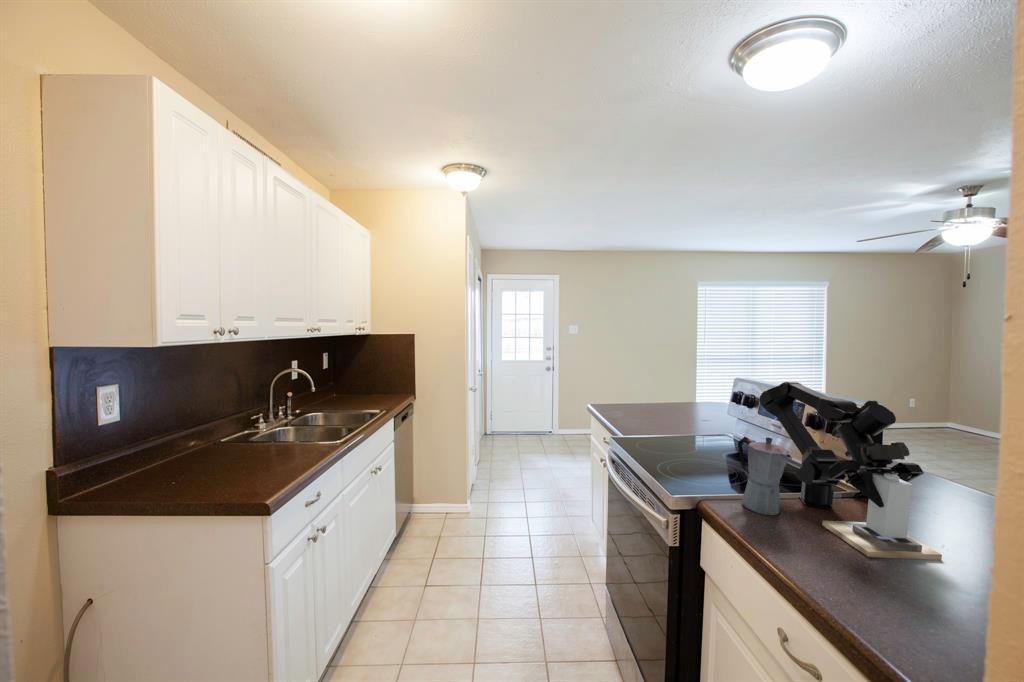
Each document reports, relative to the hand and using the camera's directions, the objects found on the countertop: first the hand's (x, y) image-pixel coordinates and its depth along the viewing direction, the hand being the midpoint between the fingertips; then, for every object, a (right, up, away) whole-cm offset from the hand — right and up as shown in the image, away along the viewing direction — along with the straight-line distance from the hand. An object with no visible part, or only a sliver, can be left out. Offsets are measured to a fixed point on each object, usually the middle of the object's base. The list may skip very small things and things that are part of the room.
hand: (893, 507), depth 95 cm
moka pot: (-19, -8, +20) cm, 29 cm away
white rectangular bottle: (0, -6, +2) cm, 7 cm away
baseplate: (0, -10, +4) cm, 10 cm away
